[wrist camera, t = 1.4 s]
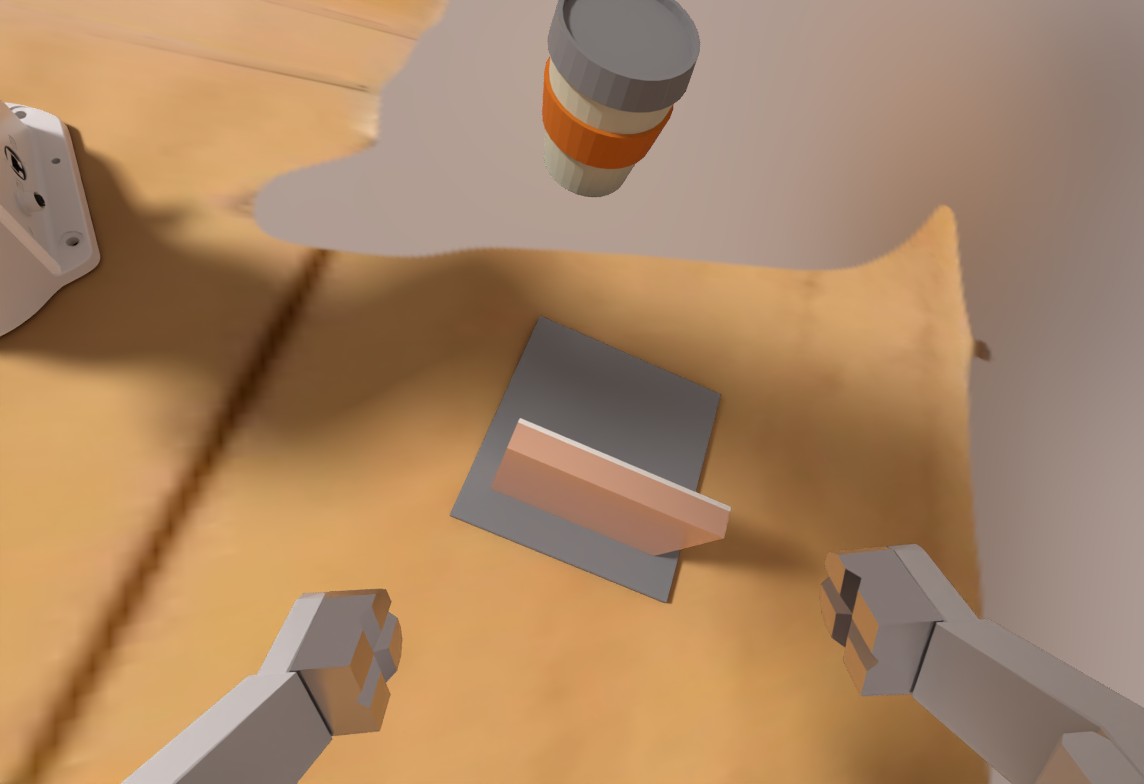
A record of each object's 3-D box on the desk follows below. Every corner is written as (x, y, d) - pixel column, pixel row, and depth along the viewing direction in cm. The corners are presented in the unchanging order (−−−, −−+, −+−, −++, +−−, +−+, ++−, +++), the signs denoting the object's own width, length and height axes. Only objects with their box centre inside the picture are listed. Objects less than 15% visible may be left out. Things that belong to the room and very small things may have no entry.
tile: (653, 555, 44) (724, 538, 33) (490, 488, 43) (507, 447, 32) (660, 532, 45) (731, 506, 34) (499, 465, 44) (519, 417, 33)
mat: (663, 602, 43) (666, 602, 43) (449, 515, 42) (449, 514, 42) (718, 396, 51) (721, 394, 51) (539, 318, 50) (540, 315, 49)
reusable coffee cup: (557, 98, 60) (591, -51, 47) (659, 152, 61) (722, 21, 47) (505, 172, 55) (526, 29, 41) (616, 231, 55) (673, 109, 42)
